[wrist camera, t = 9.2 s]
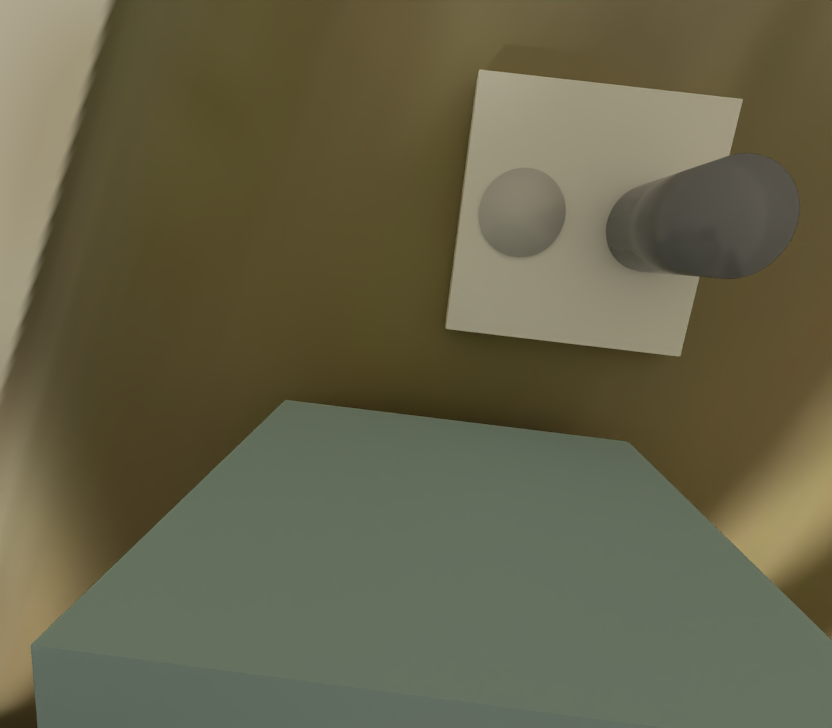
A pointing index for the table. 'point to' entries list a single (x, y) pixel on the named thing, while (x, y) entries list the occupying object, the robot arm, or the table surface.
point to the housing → (431, 594)
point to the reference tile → (606, 211)
